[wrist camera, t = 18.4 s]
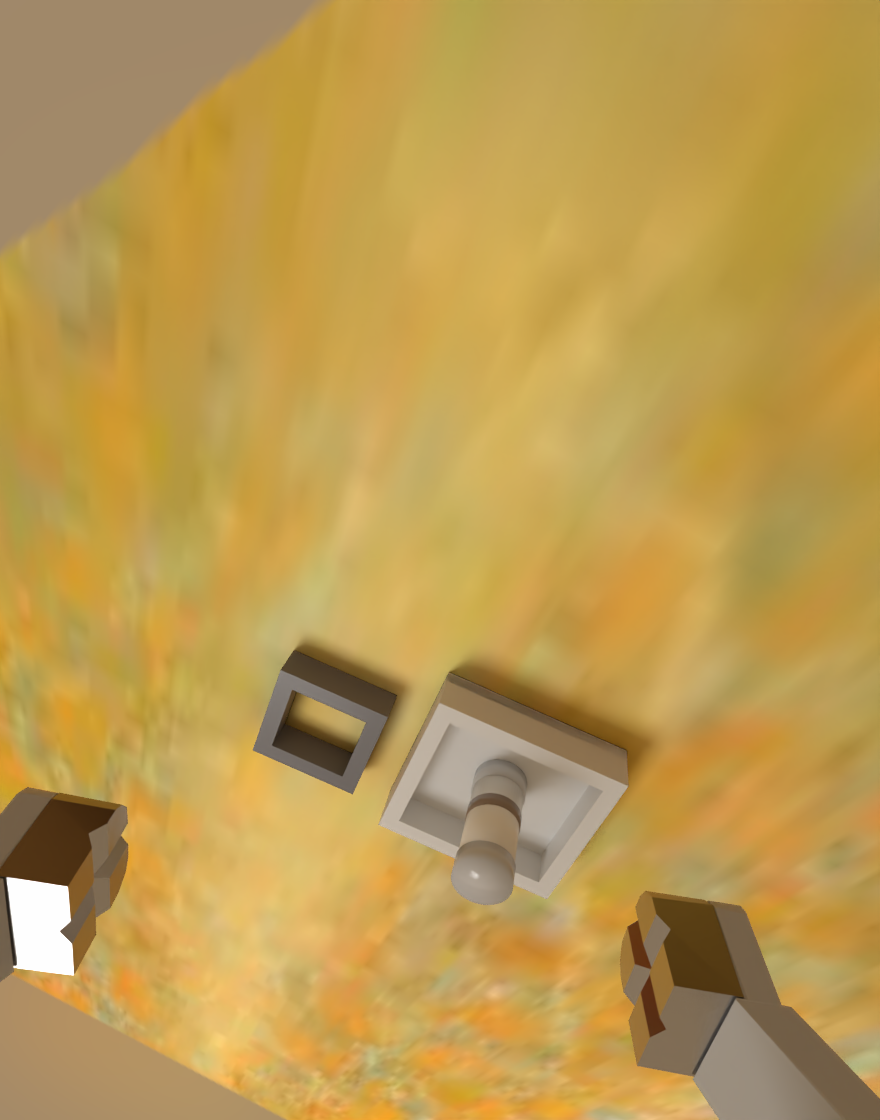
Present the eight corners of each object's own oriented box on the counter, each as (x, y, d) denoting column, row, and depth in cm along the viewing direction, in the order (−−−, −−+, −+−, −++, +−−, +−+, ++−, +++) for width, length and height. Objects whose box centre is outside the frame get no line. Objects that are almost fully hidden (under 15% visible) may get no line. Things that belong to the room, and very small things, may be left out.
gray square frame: (396, 695, 53) (388, 717, 51) (362, 770, 57) (352, 794, 54) (293, 650, 53) (280, 670, 51) (266, 728, 57) (252, 750, 54)
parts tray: (626, 750, 51) (628, 786, 48) (549, 861, 57) (547, 899, 54) (449, 672, 51) (439, 702, 48) (390, 790, 57) (378, 824, 54)
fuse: (535, 771, 52) (522, 874, 44) (516, 808, 54) (500, 912, 46) (484, 751, 52) (462, 850, 44) (467, 788, 54) (443, 890, 46)
